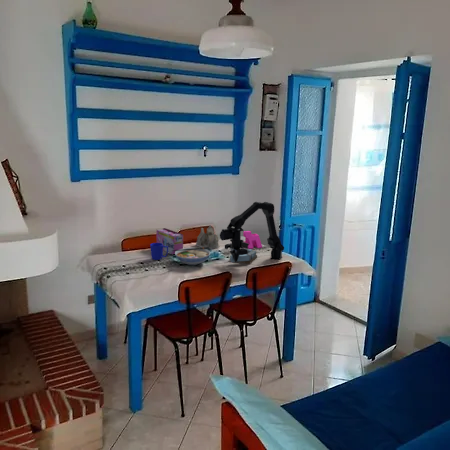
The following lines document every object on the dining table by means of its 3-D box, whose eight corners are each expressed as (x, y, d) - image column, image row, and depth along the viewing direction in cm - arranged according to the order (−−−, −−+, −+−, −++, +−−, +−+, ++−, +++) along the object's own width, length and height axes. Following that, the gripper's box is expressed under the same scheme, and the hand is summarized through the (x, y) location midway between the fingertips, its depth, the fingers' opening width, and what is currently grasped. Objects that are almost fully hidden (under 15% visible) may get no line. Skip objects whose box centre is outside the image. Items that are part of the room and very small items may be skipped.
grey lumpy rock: (195, 243, 335) (195, 223, 331) (216, 243, 339) (217, 224, 334) (197, 250, 321) (198, 230, 316) (220, 250, 324) (221, 230, 320)
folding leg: (250, 259, 293) (250, 253, 292) (251, 260, 290) (251, 254, 289) (230, 260, 289) (230, 254, 289) (231, 262, 287) (231, 256, 286)
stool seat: (257, 258, 302) (257, 250, 301) (249, 264, 290) (250, 255, 289) (237, 255, 308) (237, 247, 306) (229, 261, 295) (230, 253, 294)
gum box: (155, 247, 324) (154, 229, 321) (164, 245, 329) (164, 227, 326) (174, 255, 306) (173, 236, 303) (183, 253, 312) (183, 234, 308)
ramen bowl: (176, 270, 276) (176, 258, 274) (170, 259, 297) (170, 247, 295) (215, 267, 282) (215, 255, 280) (207, 256, 304) (207, 245, 302)
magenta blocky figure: (243, 244, 334) (243, 231, 331) (255, 243, 337) (256, 230, 334) (249, 249, 323) (249, 235, 320) (262, 248, 326) (262, 234, 323)
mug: (166, 261, 293) (166, 246, 290) (148, 260, 295) (148, 245, 293) (170, 257, 301) (170, 243, 298) (153, 256, 303) (152, 242, 301)
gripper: (255, 239, 278) (254, 263, 282) (238, 233, 294) (238, 256, 297) (240, 242, 273) (239, 266, 276) (224, 235, 288) (224, 259, 292)
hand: (235, 262), depth 285 cm, fingers closed
